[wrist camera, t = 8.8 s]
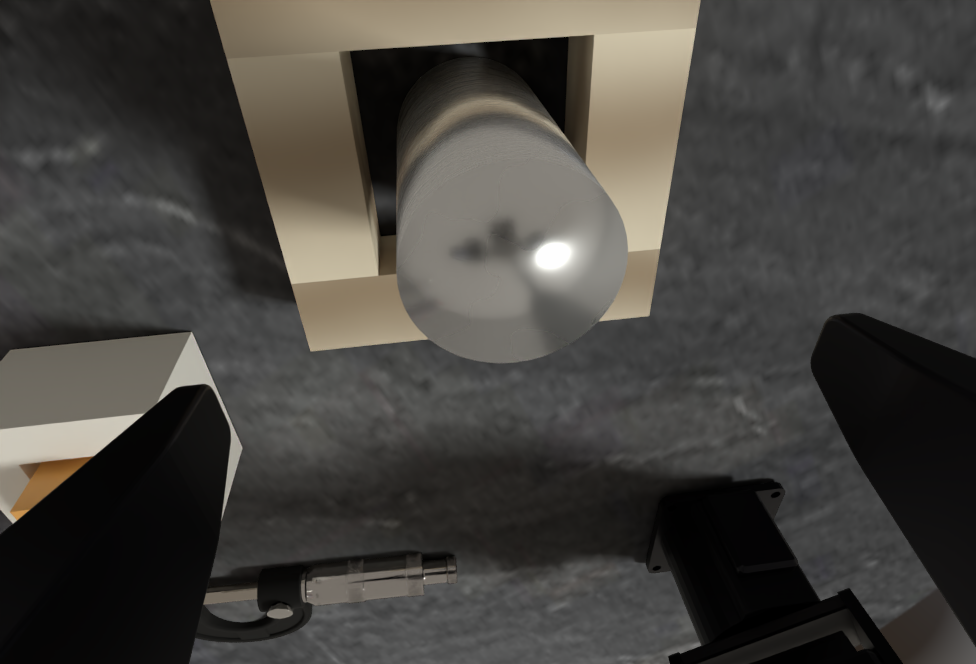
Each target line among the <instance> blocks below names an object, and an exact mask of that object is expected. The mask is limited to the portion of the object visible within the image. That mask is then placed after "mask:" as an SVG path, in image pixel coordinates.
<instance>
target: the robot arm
mask: <svg viewBox="0 0 976 664" xmlns="http://www.w3.org/2000/svg"><path fill="white" fill-rule="evenodd" d="M811 369H812V373H813V375H814V377H815V379H816V381H817V383H818V385H819V387H820V389H821V391H822V393H823V395H824V397H825V399H826V401H827V403H828V405H829V407H830V409H831V411H832V413H833V415H834V417H835V419H836V421H837V423H838V425H839V427H840V429H841V431H842V433H843V435H844V437H845V439H846V441H847V443H848V445H849V447H850V449H851V451H852V453H853V454H854V456H855V458H856V460H857V461H858V463H859V465H860V466H861V468H862V470H863V471H864V473H865V475H866V476H867V478H868V479H869V481H870V482H871V484H872V486H873V487H874V489H875V490H876V492H877V493H878V495H879V496H880V498H881V500H882V501H883V503H884V504H885V506H886V507H887V509H888V511H889V512H890V514H891V515H892V517H893V518H894V520H895V522H896V523H897V525H898V526H899V528H900V529H901V531H902V532H903V534H904V536H905V537H906V539H907V540H908V542H909V543H910V545H911V547H912V548H913V550H914V551H915V553H916V554H917V556H918V558H919V559H920V561H921V562H922V564H923V565H924V567H925V568H926V570H927V572H928V573H929V575H930V576H931V578H932V579H933V581H934V583H935V584H936V586H937V587H938V589H939V590H940V592H941V593H942V595H943V597H944V598H945V600H946V601H947V603H948V604H949V606H950V607H951V609H952V611H953V612H954V614H955V615H956V617H957V619H958V620H959V622H960V623H961V625H962V626H963V628H964V630H965V631H966V633H967V634H968V636H969V637H970V639H971V640H972V642H973V644H974V645H975V647H976V358H973V357H971V356H968V355H966V354H963V353H961V352H958V351H956V350H953V349H950V348H948V347H945V346H943V345H940V344H938V343H935V342H933V341H930V340H928V339H925V338H923V337H920V336H917V335H915V334H912V333H910V332H907V331H905V330H902V329H900V328H897V327H895V326H892V325H890V324H887V323H884V322H882V321H879V320H877V319H874V318H872V317H869V316H867V315H864V314H861V313H849V314H839V315H834V316H831V317H829V318H828V319H827V320H826V322H825V323H824V326H823V328H822V331H821V333H820V336H819V338H818V341H817V343H816V346H815V348H814V351H813V354H812V356H811ZM230 445H231V431H230V426H229V423H228V421H227V419H226V417H225V414H224V412H223V410H222V408H221V405H220V403H219V401H218V399H217V396H216V394H215V392H214V390H213V389H212V388H211V386H209V385H207V384H197V385H188V386H181V387H177V388H175V389H174V390H172V391H171V392H170V393H169V394H167V395H166V396H165V397H164V398H163V399H162V400H160V401H159V402H158V403H157V404H156V405H154V406H153V407H152V408H151V409H150V410H148V411H147V412H146V413H145V414H144V415H142V416H141V417H140V418H139V419H138V420H136V421H135V422H134V423H133V424H132V425H130V426H129V427H128V428H127V429H126V430H124V431H123V432H122V433H121V434H120V435H118V436H117V437H116V438H115V439H114V440H113V441H111V442H110V443H109V444H108V445H107V446H105V447H104V448H103V449H102V450H101V451H99V452H98V453H97V454H96V455H95V456H93V457H92V458H91V459H90V460H89V461H87V462H86V463H85V464H84V465H83V466H81V467H80V468H79V469H78V470H77V471H75V472H74V473H73V474H72V475H71V476H69V477H68V478H67V479H66V480H65V481H63V482H62V483H61V484H60V485H59V486H58V487H56V488H55V489H54V490H53V491H52V492H50V493H49V494H48V495H47V496H46V497H44V498H43V499H42V500H41V501H40V502H38V503H37V504H36V505H35V506H34V507H32V508H31V509H30V510H29V511H28V512H26V513H25V514H24V515H23V516H22V517H20V518H19V519H18V520H17V521H16V522H14V523H13V524H12V525H11V526H10V527H8V528H7V529H6V530H5V531H4V532H2V533H1V534H0V664H189V662H190V657H191V653H192V649H193V645H194V641H195V637H196V633H197V629H198V625H199V621H200V617H201V612H202V608H203V604H204V600H205V596H206V592H207V588H208V584H209V580H210V576H211V571H212V567H213V563H214V559H215V555H216V550H217V545H218V541H219V534H220V528H221V520H222V512H223V504H224V495H225V487H226V479H227V470H228V462H229V454H230ZM784 495H785V490H784V489H783V487H782V486H781V484H780V483H778V482H773V483H765V484H758V485H750V486H742V487H734V488H727V489H719V490H711V491H704V492H696V493H688V494H681V495H673V496H668V497H665V498H663V499H662V500H661V501H660V503H659V508H658V512H657V516H656V521H655V525H654V529H653V534H652V538H651V542H650V547H649V551H648V555H647V560H646V566H647V569H648V571H649V572H650V573H660V572H667V571H671V572H672V574H673V577H674V579H675V582H676V584H677V587H678V589H679V592H680V594H681V596H682V599H683V601H684V604H685V606H686V609H687V611H688V614H689V616H690V619H691V621H692V623H693V626H694V628H695V631H696V633H697V636H698V638H699V641H700V643H701V646H700V647H697V648H695V649H692V650H689V651H687V652H684V653H681V654H680V653H679V652H678V653H675V654H672V655H670V656H668V658H669V661H670V664H903V663H902V662H901V660H900V659H899V657H898V656H897V654H896V653H895V652H894V650H893V649H892V647H891V646H890V645H889V643H888V642H887V640H886V639H885V638H884V636H883V635H882V633H881V632H880V631H879V629H878V628H877V626H876V625H875V623H874V622H873V621H872V619H871V618H870V616H869V615H868V614H867V612H866V611H865V609H864V608H863V607H862V605H861V604H860V602H859V601H858V600H857V598H856V597H855V595H854V594H853V593H852V591H851V590H850V588H848V589H845V590H842V591H840V592H837V593H838V595H836V596H833V597H830V598H828V599H825V600H822V601H820V599H819V597H818V596H817V594H816V592H815V591H814V589H813V587H812V586H811V584H810V583H809V581H808V579H807V578H806V576H805V574H804V573H803V571H802V569H801V568H800V566H799V564H798V560H797V558H796V557H795V555H794V553H793V552H792V550H791V548H790V547H789V545H788V543H787V542H786V540H785V539H784V537H783V535H782V534H781V532H780V530H779V529H778V527H777V525H776V524H775V522H774V517H775V515H776V513H777V511H778V508H779V506H780V504H781V501H782V499H783V497H784ZM860 644H862V646H863V648H864V650H860V651H858V652H857V651H856V649H855V648H854V646H857V645H860Z"/></svg>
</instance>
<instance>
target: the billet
mask: <svg viewBox="0 0 976 664" xmlns="http://www.w3.org/2000/svg"><path fill="white" fill-rule="evenodd" d="M627 260H628V243H627V235H626V231H625V227H624V223H623V220H622V218H621V216H620V214H619V211H618V209H617V208H616V206H615V205H614V203H613V202H612V200H611V198H610V197H609V196H608V194H607V193H606V192H605V190H604V189H603V187H602V186H601V185H600V183H599V182H598V181H597V179H596V178H595V176H594V175H593V174H592V172H591V171H590V169H589V168H588V167H587V165H586V164H585V163H584V161H583V160H582V158H581V157H580V156H579V154H578V153H577V152H576V150H575V149H574V147H573V146H572V145H571V143H570V142H569V141H568V139H567V138H566V136H565V135H564V134H563V132H562V131H561V130H560V128H559V127H558V125H557V124H556V123H555V121H554V120H553V118H552V117H551V116H550V114H549V113H548V112H547V110H546V109H545V107H544V106H543V105H542V103H541V102H540V101H539V99H538V98H537V96H536V95H535V94H534V92H533V91H532V90H531V88H530V87H529V85H528V84H527V83H526V82H525V81H524V80H523V78H522V77H520V76H519V75H518V74H517V73H516V72H515V71H513V70H512V69H510V68H509V67H507V66H505V65H503V64H501V63H499V62H497V61H494V60H490V59H487V58H480V57H463V58H456V59H453V60H449V61H446V62H444V63H441V64H439V65H437V66H435V67H434V68H432V69H431V70H429V71H427V72H426V73H425V74H424V75H423V76H422V77H420V78H419V79H418V81H417V82H416V83H415V84H414V85H413V86H412V88H411V89H410V91H409V92H408V94H407V95H406V97H405V99H404V101H403V103H402V106H401V109H400V112H399V117H398V122H397V191H396V273H397V285H398V289H399V294H400V298H401V300H402V303H403V305H404V308H405V310H406V312H407V313H408V315H409V317H410V318H411V320H412V321H413V323H414V324H415V325H416V326H417V328H418V329H419V330H420V331H421V332H422V333H423V334H424V335H425V336H426V337H427V338H428V339H430V340H431V341H432V342H434V343H435V344H437V345H438V346H439V347H441V348H443V349H445V350H447V351H449V352H451V353H453V354H456V355H458V356H461V357H464V358H467V359H471V360H475V361H481V362H488V363H513V362H520V361H527V360H531V359H535V358H539V357H542V356H545V355H548V354H550V353H553V352H555V351H557V350H559V349H561V348H563V347H565V346H567V345H569V344H571V343H572V342H574V341H575V340H577V339H578V338H580V337H581V336H582V335H584V334H585V333H586V332H587V331H589V330H590V329H591V328H592V327H593V326H594V325H595V324H596V323H597V322H598V321H599V320H600V319H601V318H602V316H603V315H604V314H605V313H606V312H607V310H608V309H609V307H610V306H611V304H612V303H613V301H614V300H615V298H616V296H617V294H618V292H619V290H620V288H621V285H622V282H623V279H624V276H625V272H626V266H627Z"/></svg>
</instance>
